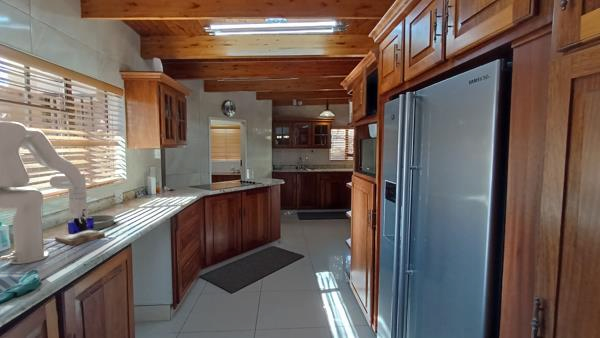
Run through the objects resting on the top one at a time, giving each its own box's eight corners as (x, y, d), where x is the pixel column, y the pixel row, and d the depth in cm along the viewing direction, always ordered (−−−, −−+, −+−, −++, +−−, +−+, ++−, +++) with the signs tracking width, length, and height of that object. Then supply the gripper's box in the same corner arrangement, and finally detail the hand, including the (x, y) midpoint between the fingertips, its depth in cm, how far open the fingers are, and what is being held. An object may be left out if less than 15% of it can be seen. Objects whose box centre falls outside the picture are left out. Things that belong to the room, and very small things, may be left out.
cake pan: (76, 234, 170) (75, 226, 170) (62, 227, 185) (62, 220, 185) (123, 225, 190) (122, 218, 189) (107, 219, 205) (106, 212, 204)
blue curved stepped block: (87, 227, 168) (86, 216, 167) (94, 227, 167) (93, 217, 166) (66, 233, 156) (65, 222, 155) (73, 234, 155) (72, 222, 154)
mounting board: (71, 245, 151) (71, 241, 150) (55, 240, 158) (55, 236, 158) (104, 236, 165) (104, 232, 165) (88, 232, 172) (88, 229, 172)
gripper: (61, 196, 160) (63, 229, 162) (78, 198, 152) (81, 233, 154) (76, 193, 167) (79, 225, 168) (94, 196, 159) (96, 229, 160)
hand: (80, 229), depth 161 cm, fingers closed on blue curved stepped block, 5 cm apart
